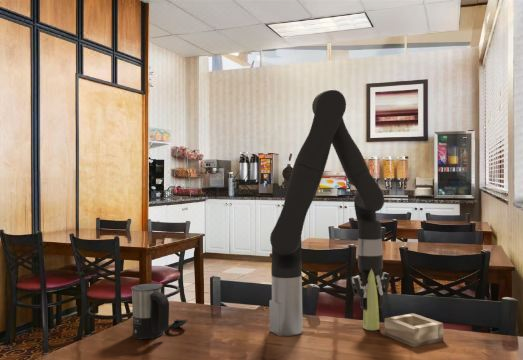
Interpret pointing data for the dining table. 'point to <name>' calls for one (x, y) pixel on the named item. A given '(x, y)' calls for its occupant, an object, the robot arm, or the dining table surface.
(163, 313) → the milk frother
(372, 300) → the tube
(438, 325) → the socket block
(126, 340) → the dining table surface
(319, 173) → the robot arm
